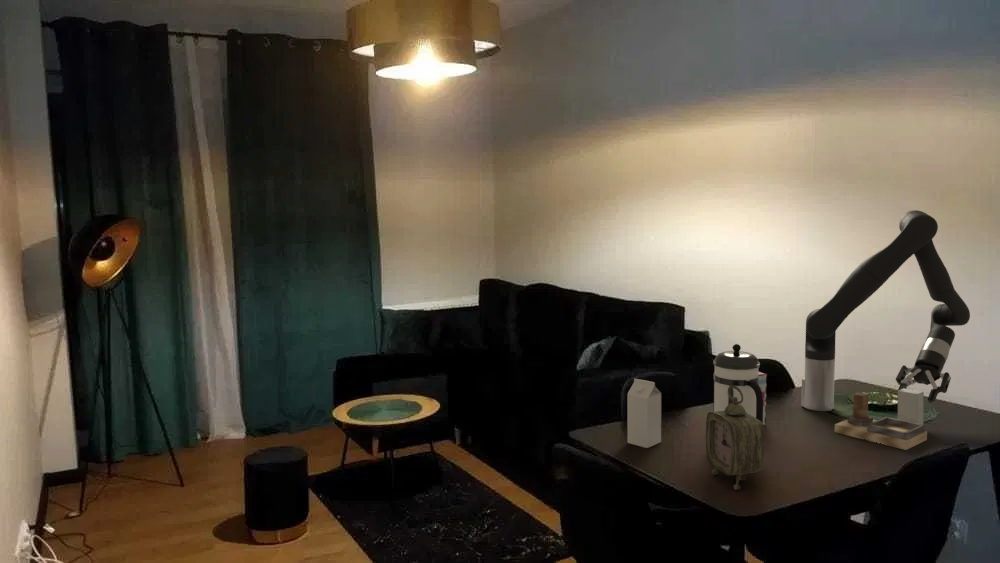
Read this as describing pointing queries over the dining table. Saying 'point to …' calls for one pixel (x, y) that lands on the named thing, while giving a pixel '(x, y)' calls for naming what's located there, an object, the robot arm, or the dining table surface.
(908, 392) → the skincare box
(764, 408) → the candy bar box
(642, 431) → the milk carton
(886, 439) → the wooden board
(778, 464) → the dining table surface
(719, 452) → the tabletop clock
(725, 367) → the coffee press
